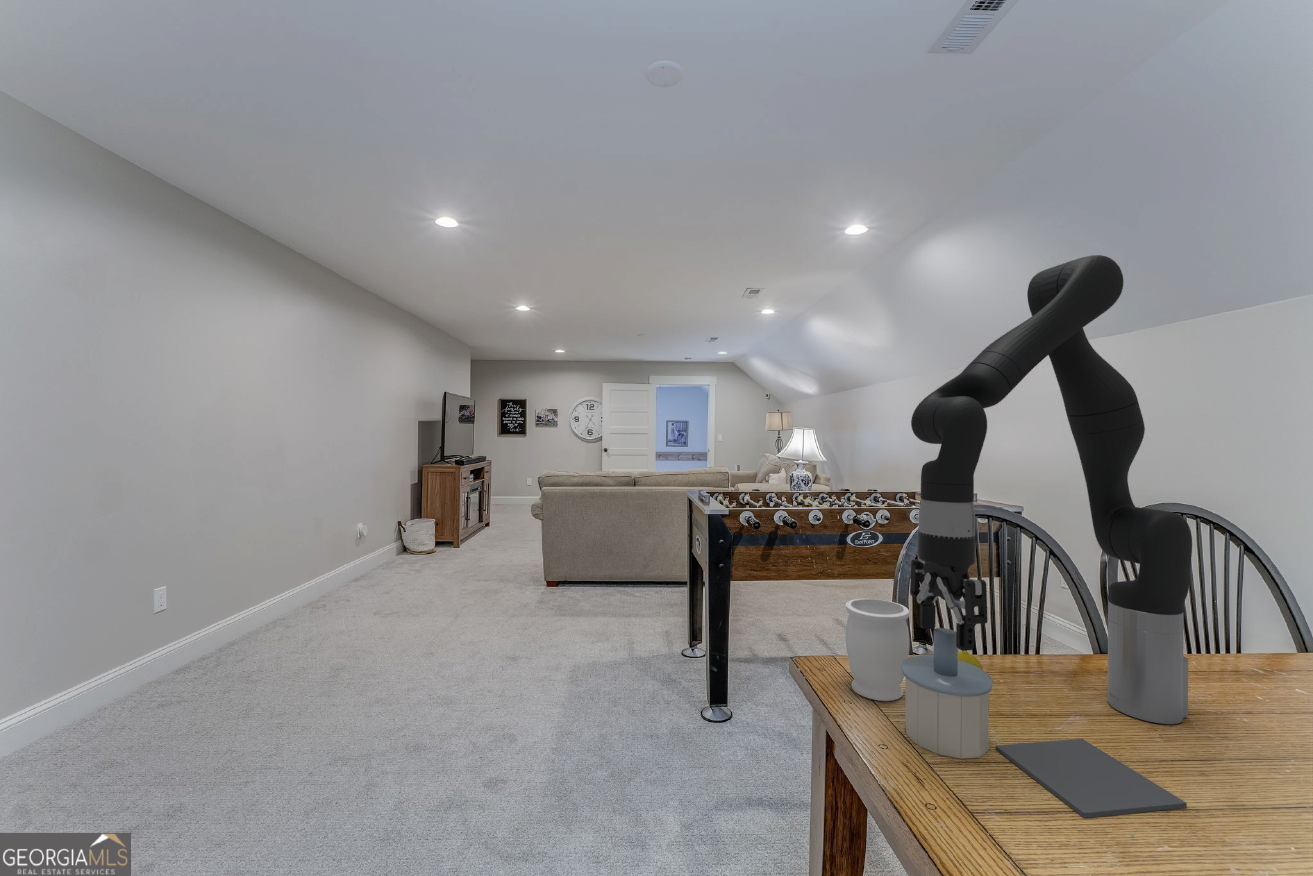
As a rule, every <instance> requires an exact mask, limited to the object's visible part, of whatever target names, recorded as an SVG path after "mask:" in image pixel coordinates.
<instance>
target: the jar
mask: <svg viewBox="0 0 1313 876" xmlns="http://www.w3.org/2000/svg"><path fill="white" fill-rule="evenodd" d="M845 610H846V611H847V613H848V616H847V620H846V625H845V647H846V653H847V660H848V666H849V670H850V673H851V674H852V676H853V678H854V679H853V680H852V682H851V688H852V689H853V691H854V692H855V693H856V694H858V695H860V696H862V697H864V698H866V699H870V700H873V701H879V702H891V701H897V700H898V699H901V697H902V696H903V693H904V692H903V689H902V687H901V684H902V683H903V680H905V676H904V675H903V673H902V662H903V661H904V660H905V659H907V658H909V655H910V633H909V627H908V623H907V619H908V618H909V617H910V610H909V608H908V607H906V606H904V605H903V604H900V603H897V602H894V601H890V600H885V599H879V598H877V599H876V598H856V599H851V600H848V601H847V602H846V603H845Z"/></svg>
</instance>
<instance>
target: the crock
mask: <svg viewBox="0 0 1313 876" xmlns="http://www.w3.org/2000/svg"><path fill="white" fill-rule="evenodd" d="M904 702H905V714H904V715H905V719H904V720H905V723H904V724H905V734H906V735H907V736H908V737H909V738H910V739H911V740H912V741H913V742H915V744H916V745H918V746H919V747H921V748H924V749H926V750H929V751H930V752H933V753H934V754H936V755H940V756H945V757H951V758H955V759H961V760H962V759H975V758H981V757H982V756H984V755H985V754H986V753H987V752H988V751H990V750H989V748H990V747H989V745H990V744H989V743H990V742H989V741H990V740H989V739H990V737H989V736H990V735H989V734H990V733H989V728H990V727H989V725H990V721H989V719H990V716H989V715H990V704H989V703H990V692H989V693H987V694H984V695H980V696H955V695H948V694H943V693H939V692H935V691H932V690H929V689H926V688H923V687H921V686H919V685H917V684H915V683H913V682H911V681H910V680H908V679H907V678H906V677H905V701H904Z"/></svg>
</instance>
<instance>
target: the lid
mask: <svg viewBox="0 0 1313 876" xmlns="http://www.w3.org/2000/svg"><path fill="white" fill-rule="evenodd" d="M958 652H959V649H958V648H957V647H956V631H955V630H953V629H949V628H943V627H937V628H936V627H935V628H934V629H933V655H925V654H924V655H913V656H910V657H909V656H908V658H907V659H905V660H904V661H903V662H902V673H903V675H904V678H905V679H906V678H907V679H908V680H910V681H911V682H913V683H915V684H917V685H919V686H921V687H923V688H926V689H929V690H932V691H935V692H939V693H943V694H948V695H955V696H980V695H984V694H987V693H989V694H990V692H991V691H992V690H993V686H994V685H993V678H992V676H991V675H990V674H989V673H988V672H986V671H985V670H982V669H983V668H982V669H980V668H978V667H976V666H974V665H972V664H969V663H966V662H963V661H960V660H958Z"/></svg>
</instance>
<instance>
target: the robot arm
mask: <svg viewBox="0 0 1313 876" xmlns="http://www.w3.org/2000/svg"><path fill="white" fill-rule="evenodd" d="M1124 283H1125V282H1124V276H1123V272H1122V270H1121V267H1120V265H1119V264H1118V263H1117V262H1116V261H1115V260H1114V259H1113V258H1111V257H1108V256H1107V255H1102V254H1099V255H1097V254H1096V255H1095V254H1093V255H1087V256H1083V257H1079V258H1076V259H1073V260H1069V261H1067V262H1064V263H1062V264H1057V265H1054V266H1052V267H1048V268H1046V269H1043V270H1041V271H1039V272H1037V273H1036V274H1034V276H1032V278H1031V280H1029V283H1028V286H1027V295H1026V296H1027V303H1028V308H1029V312H1030V314H1031V316H1030V317H1029V318H1028V319H1026V320H1025V321H1023V322H1021V323H1020V324H1018V325H1017V326H1015V327H1014V328H1011V329H1010V330H1008V331H1007V332H1006V333H1004V334H1002V335H1001V336H1000V337H998V338H997V339H995V340H994V341H993V342H991V343H990V344H988V345H987V346H986V347H985V348H984V349H983V350H982V351H981V352H980V353H979V354H977V356H976V357H974V359H973V360H972V361H971V362H970V363H969V364H968V365H967V366H966V367H965V368H964V369H963V370H962V371H961V372H960V373H959V374H958V375H956V376H954V377H953V378H951V379H950V380H949V381H946V382H945V383H944V384H943V385H941V386H939V387H937V389H935V390H934V391H932V392H931V393H929V394H928V395H927V396H926V397H924V398H923V399H922V400H921V401H920V402H919V404H917V406H916V408H915V409H914V411H913V413H912V416H911V421H910V424H911V425H910V427H911V430H912V432H913V434H914V436H915V437H916V438H917V439H919V441H922V442H924V443H926V444H933V445H940V448H939V451H938V455H937V458H935V459H932V460H930V461H927V462H925V463H924V464H923V465H922V467H921V471H920V473H921V474H920V503H919V509H918V540H917V541H918V542H917V543H918V545H917V546H918V547H917V557H918V559H912V560H911V564H910V583H909V585H910V586H909V593H910V596H911V597H915V598H916V602H917V603H918V604H919V627H920V628H922V629H924V630H934V629H936V610H937V609H936V605H935V603H936V602H937V599H938V598H941V600H943V601H945V603H946V605H947V607H948V608H949V609H950V610H952V612H953V615H954V617H955V619H956V624H955V625H956V626H955V627H956V628H955V629H956V647H957V648H958V650H960V651H961V652H962V651H972V650H973V649H974V647H975V644H976V643H975V641H976V640H975V639H976V637H975V636H976V634H975V633H976V625H981V624H988V598H987V597H988V590H987V582H986V581H985V580H984V579H973V578H971V577H970V575H969V568H970V567H971V566H974V564H975V563H976V511H975V504H974V499H975V497H974V495H975V494H974V493H975V484H974V483H975V482H974V481H975V476H974V475H975V472H976V468H977V466H978V463H979V461H980V457H981V454H982V449H983V447H984V443H985V441H986V440H985V439H986V436H987V431H988V419H987V414H986V411H985V409H987V408H990V407H993V406H996V405H998V404H999V403H1001V402H1002V401H1003V400H1004V399H1005V398H1006V397H1007V396H1008V395H1009V394H1010V393H1011V392H1012V391H1013V390H1014V389H1015V388H1016V387H1017V386H1018V385H1019V384H1020V383H1021V382H1022V380H1023V379H1024V378H1025V377H1026V376H1027V375H1028V374H1029V373H1030V372H1031V371H1032V370H1033V369H1034V368H1035V367H1037V365H1038V364H1040V363H1041V362H1042V361H1043V360H1044V359H1046V358H1047V357H1049V359H1050V363H1051V366H1052V369H1053V372H1054V374H1055V378H1056V381H1057V384H1058V387H1059V391H1060V394H1061V397H1062V400H1063V401H1062V402H1063V404H1064V410H1065V414H1066V416H1067V420H1068V421H1067V422H1068V424H1069V428H1070V431H1071V434H1072V436H1073V441H1074V443H1075V446H1076V450H1077V452H1078V456H1079V459H1080V465H1081V469H1082V473H1083V476H1084V480H1085V485H1086V489H1087V496H1088V502H1089V509H1090V513H1091V514H1090V515H1091V522H1092V526H1093V532H1094V535H1095V538H1096V542H1097V544H1098V545H1099V548H1100V549H1101V550H1102V552H1104V553H1105V554H1106V555H1108V556H1109V557H1111V558H1114V559H1118V560H1121V561H1125V562H1128V563H1129V562H1130V563H1134V564H1138V565H1139V568H1138V574H1137V577H1136V578H1135V579H1133V580H1123V581H1122V580H1121V581H1115V582H1113V583H1110V584H1109V585H1108V589H1107V600H1108V601H1107V703H1108V704H1109V705H1110V706H1111V707H1113V709H1115V710H1117V711H1118V712H1121V713H1122V714H1124V715H1127V716H1130V717H1133V718H1135V719H1137V720H1138V719H1139V720H1140V721H1141V720H1142V721H1145V722H1151V723H1156V724H1162V725H1163V724H1164V725H1176V724H1180V723H1182V722H1183V721H1184V718H1188V717H1189V707H1188V706H1189V660H1188V657H1186V656H1184V635H1185V634H1184V633H1185V632H1184V623H1185V622H1184V610H1185V608H1184V607H1185V601H1186V599H1187V597H1188V593H1189V592H1190V591H1189V589H1190V581H1191V569H1192V567H1191V565H1192V556H1193V555H1192V554H1193V536H1192V531H1191V528H1190V525H1189V523H1188V522H1187V520H1186V519H1185V517H1183V516H1182V515H1180V514H1179V513H1176V512H1172V511H1169V510H1168V511H1167V510H1162V509H1154V508H1145V507H1139V506H1138V507H1137V506H1135V504H1134V501H1133V498H1132V496H1131V492H1130V488H1129V481H1128V479H1129V471H1130V468H1131V465H1132V464H1133V462H1134V460H1135V457H1136V455H1137V454H1138V451H1140V450H1139V449H1140V447H1141V445H1142V442H1143V440H1144V436H1145V433H1146V432H1145V430H1146V428H1145V421H1144V418H1143V414H1142V411H1141V407H1140V403H1139V399H1138V397H1137V393H1136V391H1135V389H1134V387H1133V386H1132V384H1131V383H1130V382H1129V381H1128V379H1126V377H1124V376H1123V375H1122V374H1121V373H1120V372H1119V370H1117V369H1116V368H1115V367H1114V366H1112V365H1111V364H1110V363H1109V362H1108V361H1107V360H1105V359H1104V358H1103V357H1102V356H1101V355H1100V354H1099V353H1098V352H1097V351H1096V350H1095V348H1093V346H1092V344H1091V342H1090V341H1089V339H1088V338H1087V334H1086V333H1085V330H1084V327H1086V326H1087V325H1088V324H1090V323H1091V322H1093V321H1095V319H1098V318H1099V317H1100V316H1102V315H1103V314H1104V313H1105V312H1107V311H1108V310H1109V309H1110V308H1112V307H1113V306H1114V305H1115V303H1117V302H1118V300H1119V298H1120V296H1121V295H1122V292H1123V289H1124ZM919 583H921V585H919V588H918V584H919ZM962 598H963V600H961V599H962ZM975 607H977V612H978V613H976V611H975V609H976V608H975ZM962 609H964V611H965V612H964V613H965V614H964V613H963V610H962Z"/></svg>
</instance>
